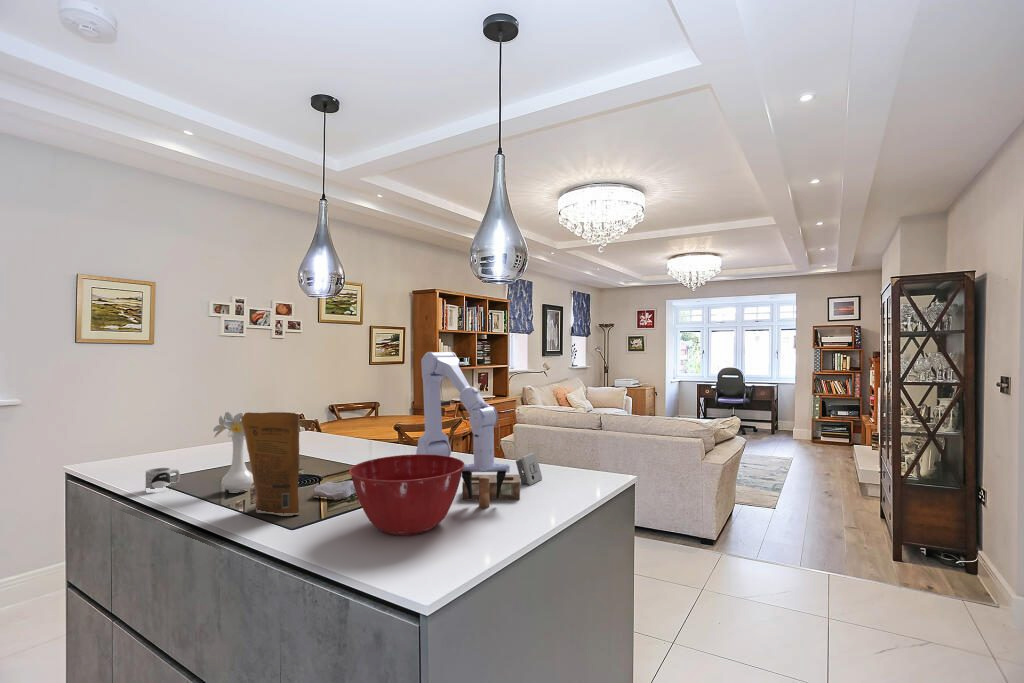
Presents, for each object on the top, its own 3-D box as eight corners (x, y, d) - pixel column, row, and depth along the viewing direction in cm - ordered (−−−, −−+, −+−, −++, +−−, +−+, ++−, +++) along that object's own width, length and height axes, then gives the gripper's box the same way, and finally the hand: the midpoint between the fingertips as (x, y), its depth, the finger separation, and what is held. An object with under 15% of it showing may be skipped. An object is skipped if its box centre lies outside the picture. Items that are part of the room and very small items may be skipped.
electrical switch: (530, 486, 173) (527, 457, 174) (516, 485, 176) (514, 457, 176) (542, 479, 182) (540, 452, 182) (529, 479, 184) (526, 452, 185)
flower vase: (246, 499, 160) (246, 416, 161) (201, 494, 167) (201, 414, 167) (278, 488, 173) (278, 411, 173) (235, 484, 179) (235, 409, 179)
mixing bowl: (416, 555, 115) (416, 484, 115) (323, 534, 129) (323, 470, 129) (485, 519, 140) (485, 460, 140) (401, 504, 153) (401, 450, 154)
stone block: (347, 507, 158) (360, 491, 168) (345, 492, 157) (358, 477, 167) (309, 507, 159) (324, 492, 169) (307, 492, 159) (322, 478, 168)
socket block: (462, 499, 158) (462, 482, 158) (466, 490, 168) (466, 474, 168) (519, 499, 157) (519, 482, 157) (520, 490, 168) (519, 474, 168)
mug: (152, 494, 167) (152, 473, 167) (141, 491, 171) (141, 471, 171) (185, 487, 176) (185, 467, 176) (174, 484, 179) (174, 465, 179)
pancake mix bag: (290, 521, 139) (290, 414, 140) (238, 512, 147) (238, 411, 147) (309, 513, 146) (309, 411, 146) (259, 506, 153) (258, 408, 154)
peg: (478, 508, 149) (478, 479, 149) (479, 505, 152) (479, 476, 152) (489, 508, 149) (488, 479, 149) (489, 504, 152) (489, 476, 152)
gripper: (456, 452, 147) (456, 501, 147) (508, 452, 147) (509, 501, 147) (459, 447, 154) (460, 494, 154) (509, 447, 154) (510, 494, 154)
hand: (484, 497), depth 151 cm, fingers open, 7 cm apart
